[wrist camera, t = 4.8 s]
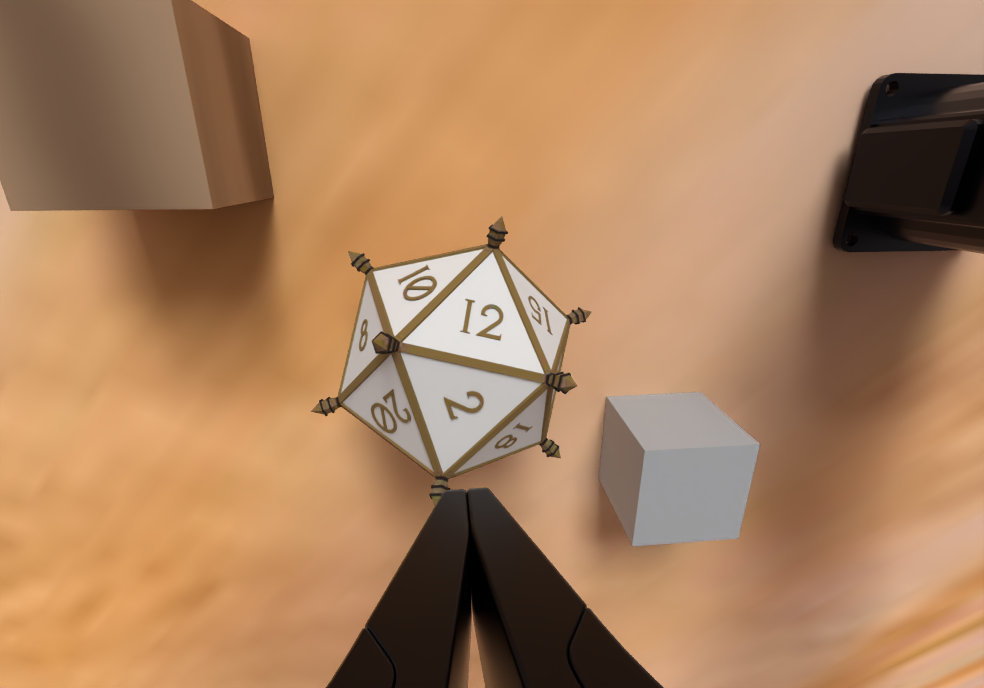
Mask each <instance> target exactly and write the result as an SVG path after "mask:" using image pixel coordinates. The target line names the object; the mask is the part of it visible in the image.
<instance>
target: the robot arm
mask: <svg viewBox="0 0 984 688" xmlns="http://www.w3.org/2000/svg"><path fill="white" fill-rule="evenodd" d="M887 85H889V92H888V94H886V87H887ZM849 235H850V240H849V242H848V243H846V240H847V238H848V236H849ZM833 245H834V247H835V248H836V249H837V250H841V251H846V252H886V251H941V250H964V251H970V252H976V253H982V254H984V75H969V74H917V73H894V74H889V75H885V76H881V77H880V78H878V79H877V80H876V81H875V82H874V83H873V85H872V88H871V90H870V94H869V98H868V102H867V106H866V110H865V114H864V118H863V122H862V126H861V130H860V134H859V138H858V142H857V146H856V150H855V154H854V158H853V162H852V166H851V170H850V174H849V178H848V182H847V186H846V190H845V194H844V198H843V202H842V206H841V210H840V214H839V218H838V222H837V226H836V230H835V234H834V238H833ZM471 600H472V608H471ZM472 612H473V619H474V626H475V632H476V638H477V643H478V649H479V654H480V660H481V666H482V671H483V677H484V682H485V688H664V687H662V686H661V685H660V684H659V683H658V682H657V681H656V680H655V679H654V678H653V677H652V676H651V675H650V674H649V673H648V672H647V671H646V670H645V669H644V668H643V667H642V666H641V665H640V664H639V663H638V662H637V661H636V660H635V659H634V658H633V657H632V656H631V655H630V654H629V653H628V652H627V651H626V650H625V649H624V647H623V646H622V645H621V644H620V643H619V642H618V641H617V640H616V638H615V637H614V636H613V635H612V634H611V633H610V632H609V631H608V629H607V628H606V627H605V626H604V625H603V624H602V623H601V621H600V620H599V619H598V618H597V617H596V615H595V614H594V613H593V612H592V611H591V609H589V608H587V605H586V604H585V603H584V601H583V600H582V599H581V598H580V597H579V595H578V594H577V593H576V592H575V591H574V589H573V588H572V587H571V586H570V585H569V583H568V582H567V581H566V580H565V579H564V578H563V576H562V575H561V574H560V573H559V572H558V570H557V569H556V568H555V567H554V566H553V564H552V563H551V562H550V561H549V560H548V559H547V557H546V556H545V555H544V554H543V553H542V551H541V550H540V549H539V548H538V547H537V545H536V544H535V543H534V542H533V541H532V540H531V538H530V537H529V536H528V535H527V534H526V532H525V531H524V530H523V529H522V528H521V526H520V525H519V524H518V523H517V522H516V521H515V519H514V518H513V517H512V516H511V515H510V513H509V512H508V511H507V510H506V509H505V507H504V506H503V505H502V504H501V503H500V501H499V500H498V499H497V498H496V497H495V496H494V494H493V493H492V492H491V491H490V490H489V489H488V488H476V489H469V490H468V491H467V494H466V491H465V490H463V489H460V490H447V491H445V492H444V493H443V494H442V496H441V497H440V499H439V501H438V503H437V504H436V506H435V508H434V509H433V511H432V513H431V514H430V516H429V518H428V519H427V521H426V523H425V525H424V526H423V528H422V530H421V531H420V533H419V535H418V536H417V538H416V540H415V542H414V543H413V545H412V547H411V548H410V550H409V552H408V553H407V555H406V557H405V558H404V560H403V562H402V564H401V565H400V567H399V569H398V570H397V572H396V574H395V575H394V577H393V579H392V580H391V582H390V584H389V586H388V587H387V589H386V591H385V592H384V594H383V596H382V597H381V599H380V601H379V602H378V604H377V606H376V608H375V609H374V611H373V613H372V614H371V616H370V618H369V619H368V621H367V623H366V625H365V628H364V629H362V631H361V633H360V634H359V636H358V638H357V639H356V641H355V643H354V644H353V646H352V648H351V650H350V651H349V653H348V654H347V656H346V657H345V659H344V661H343V662H342V664H341V665H340V667H339V669H338V670H337V672H336V673H335V675H334V676H333V678H332V680H331V681H330V683H329V684H328V685H327V687H326V688H468V673H469V657H470V640H471V619H472Z"/></svg>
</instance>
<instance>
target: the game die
mask: <svg viewBox="0 0 984 688" xmlns="http://www.w3.org/2000/svg"><path fill="white" fill-rule="evenodd" d="M489 229H490V232H489V234H488V235H487V237H488V244H486V245H481V246H476V247H472V248H467V249H462V250H457V251H453V252H448V253H443V254H438V255H434V256H429V257H424V258H419V259H415V260H410V261H405V262H400V263H396V264H391V265H386V266H381V267H377V268H373V267H372V266H371V264H370V263H369V261H370V260H369V259H366V258H365V257H364V255H365V254H364V253H363V254H358V253H354V252H350V251H348V252H349V255H350V258H351V261H352V263H351V265H352V266H353V267H354V266H355V267H356V268H357V270H358V271H361V272H363V273H365V275H366V278H365V282H364V286H363V290H362V295H361V299H360V303H359V308H358V312H357V316H356V320H355V325H354V329H353V333H352V338H351V342H350V346H349V350H348V355H347V359H346V363H345V368H344V372H343V376H342V380H341V385H340V389H339V393H338V397H336V398H330V397H328V398H327V399H326V400H323V399H321V400H320V401H319V403H318V404H317V405H316V407H315V408H314V409H313V410H312V411H311V412H315V413H320V414H325V416H328V415H327V414H328V413H331V412H332V413H335V410H336V409H337V408H339V407H343V408H344V409H345V410H347V411H348V412H349V413H350V414H352V415H353V416H354V417H356V418H357V419H358V420H360V421H361V422H362V423H364V424H365V425H366V426H368V427H369V428H370V429H372V430H373V431H374V432H376V433H377V434H378V435H379V436H381V437H382V438H383V439H385V440H386V441H387V442H389V443H390V444H391V445H393V446H394V447H395V448H397V449H398V450H399V451H401V452H402V453H403V454H404V455H406V456H407V457H408V458H410V459H411V460H412V461H414V462H415V463H416V464H418V465H419V466H420V467H422V468H423V469H424V470H426V471H427V472H428V473H430V474H431V475H432V476H433V477H435V478H436V481H435V483H434V485H432V486H431V488H432V493H430V497H431V499H433V502H434V505H435V506H436V504H437V503H438V501H439V499H440V497H441V496H442V494H443V493H444V492H445V491H447V490H450V488H448V483H447V481H448V479H450V478H453V477H455V476H458V475H460V474H463V473H466V472H468V471H471V470H473V469H476V468H478V467H481V466H484V465H486V464H489V463H491V462H494V461H497V460H499V459H502V458H504V457H507V456H510V455H512V454H515V453H517V452H520V451H522V450H525V449H528V448H530V447H533V446H535V445H538V444H539V445H540V446H541V447H542V449H543V450H542V452H545V453H546V454H547V457H550V456H551V457H557V458H561V457H560V453H559V446H558V445H556V444H554V443H555V442H554V441H552V440H548V439H547V438H546V436H547V432H548V427H549V422H550V418H551V413H552V408H553V403H554V399H555V394H556V391H557V392H560V391H561V392H563V393H564V394H566V393H567V392H568V391H569V390H571V389H573V388H574V387H576V386H577V385H576V383H575V382H574V381H573V379H572V378H571V374H570V373H567V374H564V373H563V372H560V371H561V366H562V361H563V356H564V352H565V347H566V342H567V338H568V333H569V328H570V325H571V324H572V323H575V324H580V322H586V319H587V318H588V316H589V315H590V313H591V312H590V311H586V310H582V309H581V308H580V307H579V308H578V310H575V311H574V310H572V313H570V314H569V315H566V314H564V313H563V312H562V311H561V310H560V309H559V308H558V307H557V306H556V305H555V304H554V303H553V302H552V301H551V300H550V299H549V298H548V297H547V296H546V295H545V294H544V293H543V292H542V291H541V290H540V289H539V288H538V287H537V286H536V285H535V284H534V283H533V282H532V281H531V280H530V279H529V278H528V277H527V276H526V275H525V274H524V273H523V272H522V271H521V270H520V269H519V268H518V267H517V266H516V265H515V264H514V263H513V262H512V261H511V260H510V259H509V258H508V257H507V256H506V255H505V254H504V253H503V252H502V251H501V250H500V249H499V246H500V244H501V243H502V241H503V242H504V241H505V239H504V237H505V234H508V232H507V231H506V229H505V225H504V221H503V218H502V217H501V218H500V219H499V220H498V221H497V222H496V223H495V224H494V225H491V226H490V227H489Z"/></svg>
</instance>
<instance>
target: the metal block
mask: <svg viewBox="0 0 984 688" xmlns="http://www.w3.org/2000/svg"><path fill="white" fill-rule="evenodd" d="M0 181H1V184H2V187H3V190H4V193H5V195H6V198H7V201H8V204H9V207H10V210H11V211H45V210H162V209H216V208H221V207H227V206H232V205H237V204H243V203H248V202H253V201H259V200H264V199H269V198H274V195H273V188H272V182H271V175H270V169H269V163H268V156H267V150H266V143H265V137H264V131H263V124H262V118H261V111H260V105H259V98H258V92H257V86H256V79H255V73H254V66H253V60H252V54H251V47H250V41H249V38H248V37H246V36H245V35H243V34H242V33H240V32H239V31H237V30H236V29H234V28H232V27H231V26H229V25H228V24H226V23H225V22H223V21H222V20H220V19H219V18H217V17H216V16H214V15H213V14H211V13H210V12H208V11H207V10H205V9H204V8H202V7H200V6H199V5H197V4H196V3H194V2H193V1H191V0H0Z"/></svg>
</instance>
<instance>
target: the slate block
mask: <svg viewBox="0 0 984 688" xmlns="http://www.w3.org/2000/svg"><path fill="white" fill-rule="evenodd" d="M759 447H760V444H759V443H758V442H757V441H756V440H755V439H754V438H752V437H751V436H750V435H749V434H748V433H747V432H746V431H744V430H743V429H742V428H741V427H740V426H739V425H738V424H736V423H735V422H734V421H733V420H732V419H731V418H730V417H729V416H727V415H726V414H725V413H724V412H723V411H722V410H721V409H719V408H718V407H717V406H716V405H715V404H714V403H713V402H711V401H710V400H709V399H708V398H707V397H706V396H705V395H704V394H702V393H701V392H692V393H670V394H648V395H626V396H606V407H605V417H604V428H603V439H602V449H601V460H600V470H599V481H600V483H601V485H602V487H603V489H604V491H605V493H606V495H607V497H608V499H609V501H610V503H611V505H612V507H613V509H614V511H615V513H616V515H617V517H618V519H619V521H620V523H621V525H622V527H623V529H624V531H625V533H626V535H627V537H628V539H629V541H630V543H631V545H632V546H645V545H659V544H672V543H685V542H699V541H712V540H726V539H738V538H739V533H740V529H741V525H742V520H743V516H744V512H745V507H746V503H747V499H748V494H749V490H750V486H751V481H752V477H753V473H754V468H755V464H756V460H757V455H758V451H759Z"/></svg>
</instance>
